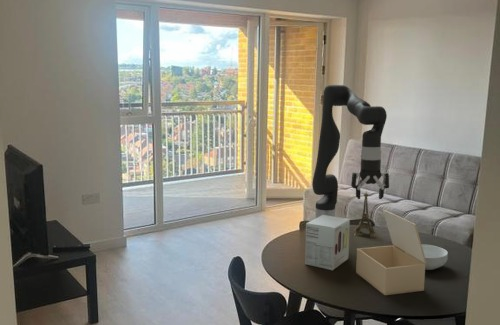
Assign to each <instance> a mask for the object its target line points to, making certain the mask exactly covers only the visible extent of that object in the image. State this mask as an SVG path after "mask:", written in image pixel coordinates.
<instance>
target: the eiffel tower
mask: <svg viewBox="0 0 500 325" xmlns="http://www.w3.org/2000/svg"><path fill="white" fill-rule="evenodd" d="M365 188H367V185H366V186H365ZM363 196H364V199H363V200H364V202H363V208H362V213H361V219H360V221H359V223H358V225H357V226H356V227H355V228H354V230H353V232H354V233H353V236H354V237H360V233H361V231H362V229H367V230H368V232H369V238H376V235H375V234H376V231H375V229H374V227H373V226H372V225H371V224H372V223H371V221H370V219H369V217H370V214H369V211H368V209H369V207H368V203H369V202H368V197H369V193H367V192H365V193H364V194H363ZM364 219H365V220H366V221H364Z"/></svg>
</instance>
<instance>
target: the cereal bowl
mask: <svg viewBox="0 0 500 325" xmlns="http://www.w3.org/2000/svg"><path fill="white" fill-rule="evenodd" d="M421 245H422V248H423V252H424V255H425V259H426V262H427V263H426V264H425V263H424V262H422V261H420V260H419V261H420V262H422V263H424V264H425V271H433V270H435V269H438V268H441V267H443V266H444V265H445V264H446V263H447V261H448V256H449V253H448V251H447V250H446V249H444V248H442V247H440V246H436V245H432V244H422V243H421ZM405 253H406V252H405ZM407 254H408V253H407ZM408 255H410V254H408ZM410 256H412V255H410ZM412 257H413V256H412ZM413 258H415V257H413ZM415 259H417V258H415ZM417 260H418V259H417Z"/></svg>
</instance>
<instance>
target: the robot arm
mask: <svg viewBox="0 0 500 325" xmlns="http://www.w3.org/2000/svg"><path fill="white" fill-rule="evenodd" d="M322 95H323V96H322V109H321V110H322V111H321V112H322V114H321V115H322V116H321V123H320V133H319V139H318V149H317V158H316V164H315V168H314V173H313V177H312V190H313V192H314V194H315V195H317V196H322V197H321V198H320V199H318V200H317V201H316V202H315V214H314V215H315V216H314V217H315V218H317V217H319V216H321V215H328V216H334V217H336V205H337V202H338V191H339V182H338V178H337V176H336V175H334V174H332V173H331V174H329V173H328V174H327V171H328V169H329V168H328V167H329V165H330V164H331V162H332V161H333V159H334V158H335V157H336V155H337V154H338V151H339V148H340V142H341V133H340V130H339V128H338V126H337V123H336V122H335V120H334V116H333V106H334V107H342V106H346V107H347V111H348V112H349V113H350V114H351V115H353V116H355V117H356V118H357V120H358V122H359V123H360V124H362V125H363V126H372V127H371V129H370V130H366V131H364V132H362V135H361V138H362V139H361V141H362V142H361V143H362V144H361V150H360V172H359V173H358V172H352V174H351V184H350V186H351V187H352V188H353V189H355V197H356V198H357V200H361V192H362V191H361V188H362V187H364V185H365V184H366V185H370V184H371V185H375V184H376V185H377V187H379V189H378V199H379V200H382V199H383V198H384V197H385V195H384V193H385V192H384V191H385V189H388V188H390V174H389V172H387V171H385V172H381V171H382V170H381V165H382V164H381V163H382V150H381V149H382V146H381V145H382V134H383V131H384V129H385V128H384V127H385V125H386V121H387V114H388V113H387V111H386V109H385V108H384V107H383V106H378V105H377V106H371V104H370V103H369V102H367V101H366V100H364V99H362V98H360V97H359V96H357V95H356V94H355V93H354V92H353V91H352V90H351V89H350V88H349V87H348V86H346V85H344V84H327V85H326V86H325V87H324V89H323V94H322ZM359 177H360V178H361V179H360V180H359V182H358V183H357V179H359ZM381 177H382V178H383V184H382V183H381V181H380V179H381ZM315 218H314V219H315Z"/></svg>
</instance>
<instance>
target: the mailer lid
mask: <svg viewBox="0 0 500 325" xmlns="http://www.w3.org/2000/svg"><path fill="white" fill-rule="evenodd" d="M382 213H383V216H384V219H385V223H386V227H387V229H388V234H389V236H390V240H391V243H392V245H394V246H396V247H398V248H400V249H401V250H403V251H405V252H406V253H408V254H410V255H412V256H413V257H415V258H417V259H418V260H420V261H422V262H424V263H425V264H426V263H427V262H426V259H425V255H424V252H423V248H422V245H421V244H422V242H421V237H420V234H419V231H418V228H417V224H416V223H414V222H413V221H411V220H410V221H409V220H408V219H406V218H403V217H401V216H399V215H397V214H395V213H393V212H391V211H388V210H386V209H384V208H383V209H382Z"/></svg>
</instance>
